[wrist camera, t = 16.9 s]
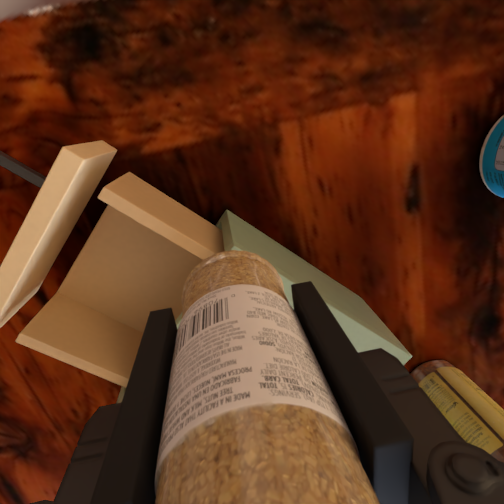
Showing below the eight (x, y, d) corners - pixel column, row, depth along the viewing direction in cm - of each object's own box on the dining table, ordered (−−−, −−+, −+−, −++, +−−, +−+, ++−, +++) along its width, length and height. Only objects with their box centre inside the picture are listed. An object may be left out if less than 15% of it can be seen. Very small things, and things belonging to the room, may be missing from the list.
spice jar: (214, 351, 16) (233, 1209, 3) (161, 276, 14) (-210, 1456, 2) (300, 307, 15) (677, 1070, 3) (256, 226, 14) (703, 1195, 1)
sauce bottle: (407, 407, 38) (590, 667, 20) (397, 368, 36) (594, 622, 18) (461, 386, 38) (693, 630, 20) (454, 346, 36) (711, 580, 18)
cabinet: (137, 337, 31) (111, 415, 23) (226, 208, 27) (233, 245, 19) (271, 400, 36) (289, 483, 27) (361, 297, 32) (412, 356, 24)
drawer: (-71, 241, 25) (-169, 282, 18) (3, 76, 21) (-84, 56, 15) (180, 358, 31) (172, 419, 25) (265, 245, 28) (281, 281, 22)
